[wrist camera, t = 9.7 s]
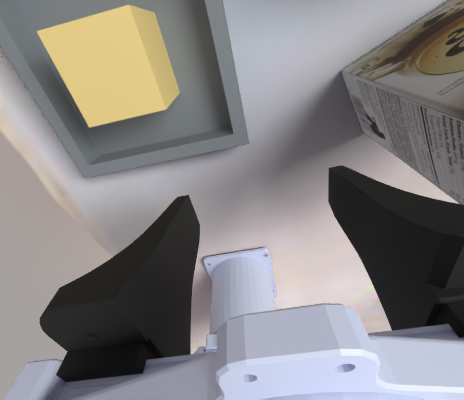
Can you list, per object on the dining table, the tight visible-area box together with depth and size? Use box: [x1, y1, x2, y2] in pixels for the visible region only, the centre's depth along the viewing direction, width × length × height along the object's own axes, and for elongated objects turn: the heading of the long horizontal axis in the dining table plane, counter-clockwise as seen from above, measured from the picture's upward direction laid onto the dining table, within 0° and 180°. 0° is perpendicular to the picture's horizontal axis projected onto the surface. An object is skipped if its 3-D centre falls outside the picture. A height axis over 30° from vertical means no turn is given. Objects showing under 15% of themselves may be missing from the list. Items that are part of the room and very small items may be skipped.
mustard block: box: [37, 5, 180, 128], centre depth 15 cm, size 5×5×5 cm
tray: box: [0, 0, 249, 178], centre depth 17 cm, size 14×14×3 cm
